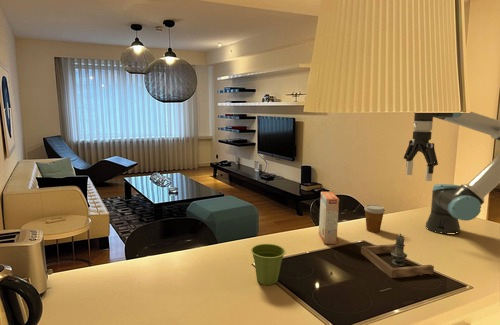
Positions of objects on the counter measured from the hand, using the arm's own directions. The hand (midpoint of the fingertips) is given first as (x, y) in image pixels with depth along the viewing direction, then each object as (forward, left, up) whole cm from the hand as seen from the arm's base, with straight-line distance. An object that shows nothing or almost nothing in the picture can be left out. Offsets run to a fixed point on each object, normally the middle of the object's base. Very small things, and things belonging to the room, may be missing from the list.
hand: (418, 177), depth 163 cm
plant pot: (+77, +28, -29) cm, 87 cm away
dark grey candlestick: (+23, +23, -29) cm, 43 cm away
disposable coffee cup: (+13, -13, -29) cm, 34 cm away
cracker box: (+40, -6, -29) cm, 50 cm away
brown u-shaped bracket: (+24, +23, -29) cm, 44 cm away
